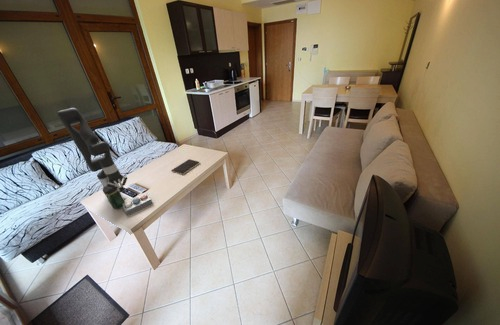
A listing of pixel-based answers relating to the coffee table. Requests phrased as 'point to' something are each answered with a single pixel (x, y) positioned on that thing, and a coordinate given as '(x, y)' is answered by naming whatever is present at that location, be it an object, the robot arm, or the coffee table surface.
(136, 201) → the button slate
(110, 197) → the coffee jar
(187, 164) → the hardcover book
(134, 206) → the console
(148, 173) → the coffee table surface
